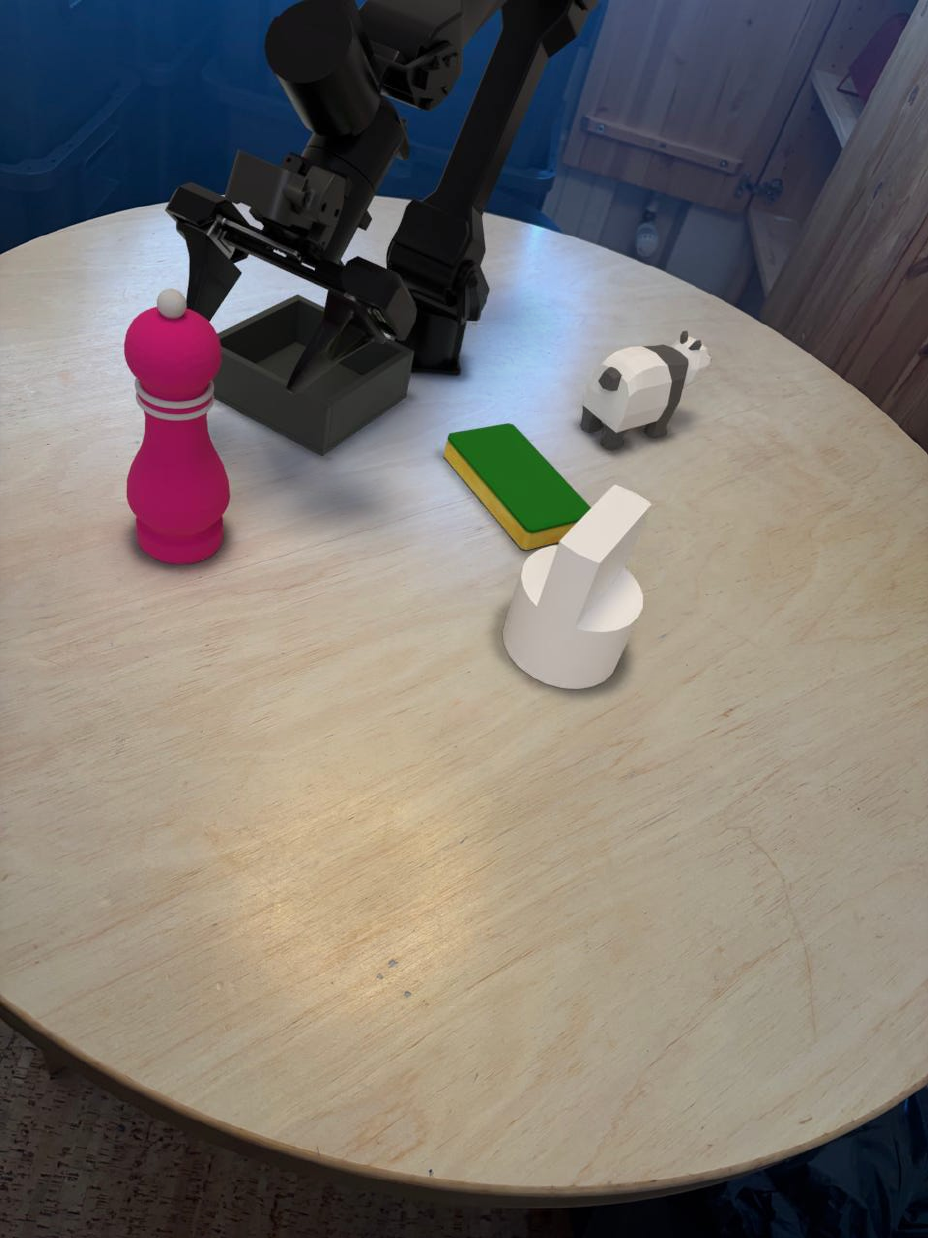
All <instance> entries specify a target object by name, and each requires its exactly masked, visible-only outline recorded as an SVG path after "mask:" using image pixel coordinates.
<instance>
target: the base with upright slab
mask: <svg viewBox="0 0 928 1238" xmlns="http://www.w3.org/2000/svg"><path fill="white" fill-rule="evenodd" d="M651 506H652V503H651V502H650V501H649V500H648V499H646V498H644V497H643V496H641V495H639V494H638V493H636V492H635V491H632V490H630V489H627V488H625V487H622V486H620V485H617V484H613V485H612V486H611V487H610V488H609V489H608V490H607V491H606V492H605V493H604V494H603V495H602V496H601V497H600V498H599V499H598V501H597V502H596V503H594V504H593V506H591V509H590V510H589V511H588V512H587V513H586V514H585V515H584V516H583V517H582V518H581V519H580V520H579V521H578V522H577V523H576V524H575V525H574V527H573V528H572V529H571V530H570V531H569V532H568V533H567V534H566V535H565V536H564V537H563V538H562V539H561V540H560V541H559V542H558V544H555V545H547V546H546V547H542V548H541V549H537V550H536V551H534V552H533V553H532V554H531V555H529V556H528V557H527V559H526V560H525V562H524V563H523V565H522V567H521V570H520V573H519V577H518V579H517V583H516V586H515V589H514V593H513V596H512V599H511V601H510V605H509V608H508V612H507V615H506V617H505V621H504V625H503V629H502V639H503V645H504V648H505V649H506V652H507V653H508V655H509V657H510V659H511V660H512V661H513V662H514V663H515V664H516V665H517V666H518V668H519V669H521V671H523V672H525V673H526V674H528V676H530V677H531V678H533V679H535V680H537V681H540V682H542V683H544V684H546V685H549V686H552V687H553V686H554V687H557V688H561V689H572V690H581V689H586V688H593V687H595V686H597V685H600V684H601V683H603V682H605V681H606V680H607V679H608V678H609V677H610V676H611V675H613V673H614V671H615V669H616V667H617V665H618V663H619V661H620V658H621V656H622V654H623V652H624V650H625V647H626V645H627V643H628V641H629V639H630V636H631V634H632V632H633V631H634V630H633V629H634V627H635V626H636V624H637V621H638V618H639V617H640V615H641V613H642V610H643V608H644V606H643V605H644V595H643V591H642V589H641V586H640V584H639V582H638V581H637V580H636V578H635V576H634V575H633V573H631V572H630V571H629V569H628V568H626V566H627V563H628V562H629V559H630V557H631V554H632V552H633V549H634V548H635V545H636V542H637V540H638V537H639V535H640V534H641V530H642V528H643V526H644V523H645V520H646V518H647V516H648V514H649V511H650V509H651Z"/></svg>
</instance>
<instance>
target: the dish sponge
mask: <svg viewBox="0 0 928 1238" xmlns="http://www.w3.org/2000/svg"><path fill="white" fill-rule="evenodd" d="M445 443H446V444H445V448H444V452H443V457H444V458H445V460H446V461H447V462H448V463H449V464H450V466H451V467H452V468H453V469H454V470H455V471H456V473H457V474H458V475H459V476H460V478H462V480H463V481H464V482H465V483H466V484H467V486H468V487H469V488H470V489H471V491H472V492H473V493H474V494H475V496H477V498H478V499H479V500H480V501H481V502H482V504H483V505H484V506H485V507H486V509H487V510H488V511H489V512H490V513H491V514H492V515H493V517H494V519H496V520H497V522H498V523H499V524H500V525H501V526H502V528H503V529H504V530H505V531H506V532H507V534H508V535H509V536H510V537H511V538H512V539H513V541H514V542H515V543H516V545H518V546H519V548H520V549H522V550H525V551H529V550H533V549H536V548H540V547H544V546H550V545H552V544H557V543H559V541H560V540H561V539H562V538H563V537H564V536H565V535H566V534H567V533H568V532H569V531H570V530H571V529H572V528H573V527H574V525H575V524H576V523H577V522H578V521H579V520H580V519H581V518H582V517H583V516H584V515H585V514H586V513H587V512H588V511H589V510H590V509H591V508H592V506H591V505H589V504H588V502H587V501H586V500H585V499H584V498H583V497H582V496H581V495H580V494H579V493H578V492H577V491H576V489H574V487H573V486H571V484H570V483H569V482H568V481H567V480H566V479H565V478H564V477H563V476H562V475H561V474H560V472H558V470H556V468H555V467H554V466H553V465H552V464H551V463H550V462H549V461H548V460H547V459H546V458H545V456H544V455H542V453H541V452H540V451H539V450H538V449H537V448H536V447H535V446H534V445H533V444H532V443H531V442H530V441H529V439H528V438H527V437H526V436H525V435H524V434H523V433H522V432H521V431H520V429H518V428H517V427H516V425H515V424H513V423H510V422H507V423H502V424H501V423H500V424H496V425H490V426H489V425H488V426H485V427H484V426H483V427H479V428H478V427H477V428H473V429H467V430H462V431H456V432H449V433H448V434H447V437H446V442H445Z"/></svg>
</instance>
